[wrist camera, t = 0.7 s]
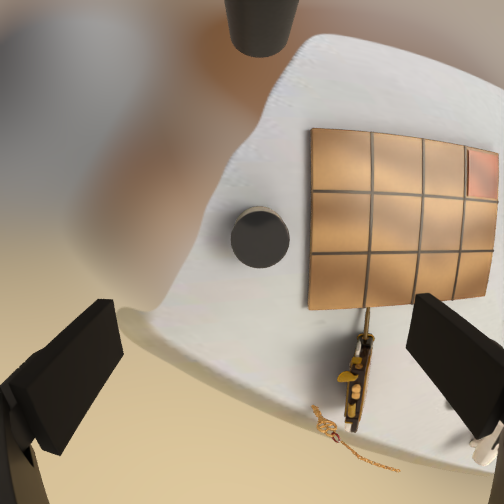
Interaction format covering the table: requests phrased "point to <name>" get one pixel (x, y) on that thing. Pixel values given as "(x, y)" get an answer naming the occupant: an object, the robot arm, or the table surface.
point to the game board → (398, 219)
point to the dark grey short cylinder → (259, 237)
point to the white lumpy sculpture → (486, 447)
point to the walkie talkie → (354, 388)
